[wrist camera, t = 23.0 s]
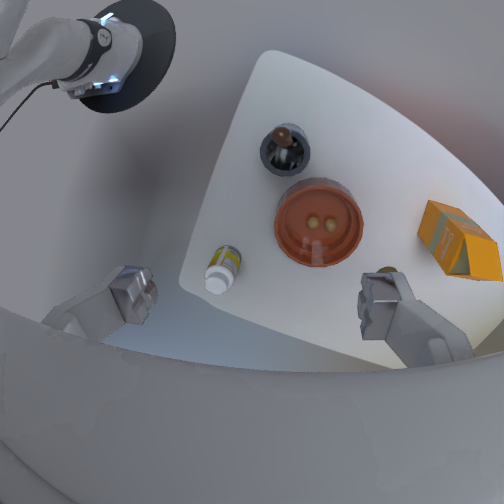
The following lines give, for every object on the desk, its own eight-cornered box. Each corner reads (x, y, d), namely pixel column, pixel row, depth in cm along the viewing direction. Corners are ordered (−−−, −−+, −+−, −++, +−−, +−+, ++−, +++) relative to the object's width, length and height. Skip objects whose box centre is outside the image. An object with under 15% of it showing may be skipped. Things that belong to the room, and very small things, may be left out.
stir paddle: (280, 150, 43) (265, 144, 23) (280, 140, 43) (265, 125, 22) (297, 151, 43) (296, 144, 23) (297, 140, 42) (296, 125, 22)
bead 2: (320, 228, 49) (323, 222, 47) (327, 220, 49) (330, 213, 47) (331, 236, 48) (334, 229, 46) (338, 227, 49) (341, 221, 47)
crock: (270, 159, 45) (261, 177, 35) (268, 123, 42) (258, 129, 32) (307, 159, 44) (310, 176, 34) (306, 122, 41) (309, 128, 31)
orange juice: (448, 241, 46) (492, 301, 29) (416, 234, 47) (458, 297, 30) (460, 208, 42) (514, 260, 25) (428, 198, 43) (481, 251, 26)
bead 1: (309, 230, 47) (312, 233, 49) (320, 223, 46) (323, 227, 48) (303, 218, 48) (306, 223, 50) (314, 212, 47) (317, 216, 49)
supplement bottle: (215, 265, 59) (201, 295, 50) (215, 243, 56) (199, 271, 47) (241, 269, 58) (230, 300, 49) (242, 246, 55) (230, 276, 46)
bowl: (278, 251, 54) (275, 266, 50) (275, 176, 47) (272, 185, 42) (353, 252, 52) (358, 267, 47) (359, 178, 44) (366, 187, 39)
